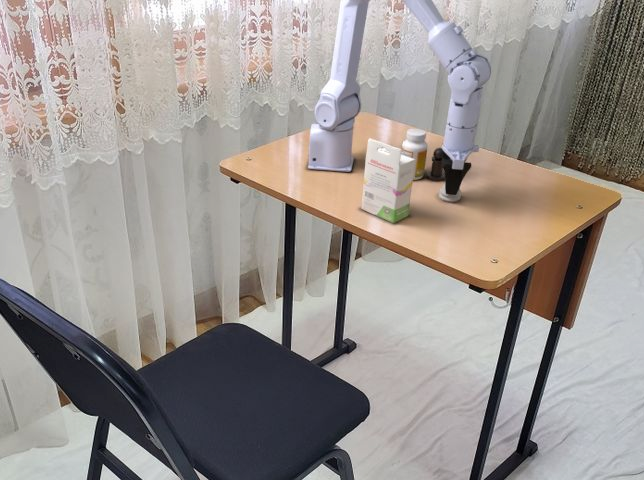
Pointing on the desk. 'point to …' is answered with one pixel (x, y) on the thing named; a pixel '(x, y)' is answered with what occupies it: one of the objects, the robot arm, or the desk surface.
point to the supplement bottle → (416, 150)
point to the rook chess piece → (447, 197)
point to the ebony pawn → (436, 166)
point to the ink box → (387, 181)
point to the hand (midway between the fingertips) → (450, 189)
